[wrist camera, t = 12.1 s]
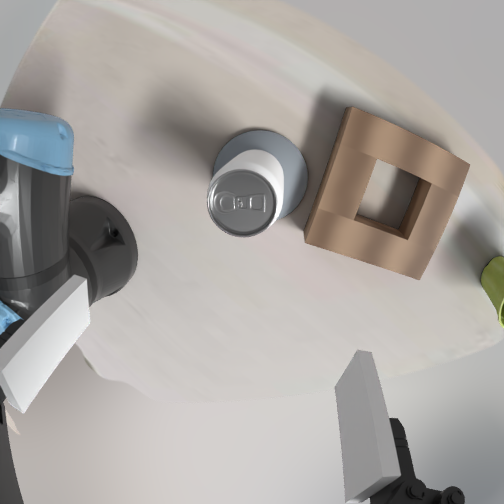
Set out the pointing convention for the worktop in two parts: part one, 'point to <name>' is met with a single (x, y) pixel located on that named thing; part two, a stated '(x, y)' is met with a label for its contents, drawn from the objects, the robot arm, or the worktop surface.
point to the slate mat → (282, 152)
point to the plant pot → (495, 285)
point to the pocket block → (354, 185)
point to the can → (246, 194)
